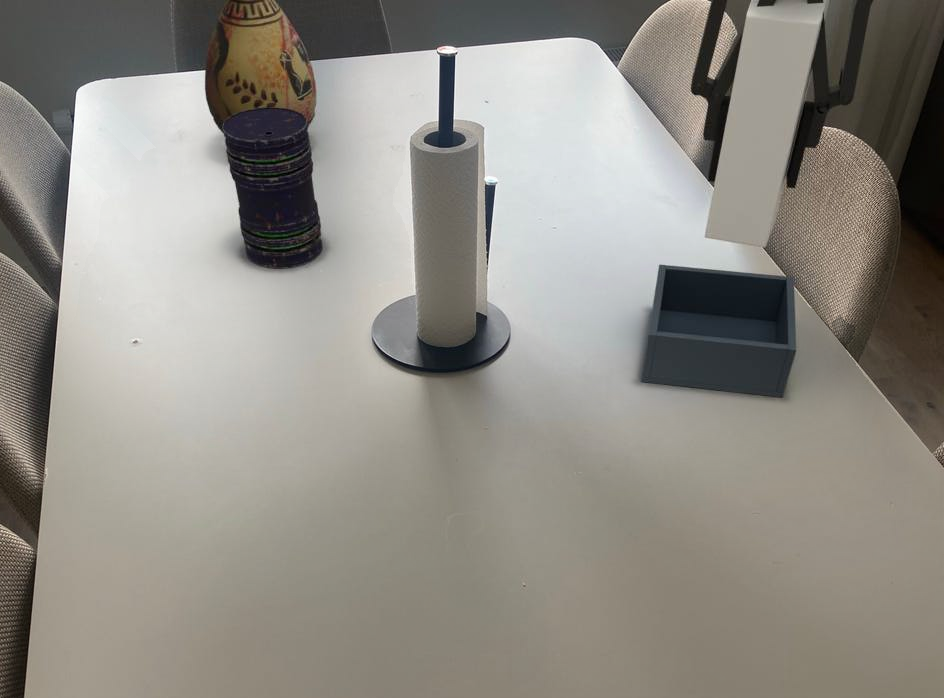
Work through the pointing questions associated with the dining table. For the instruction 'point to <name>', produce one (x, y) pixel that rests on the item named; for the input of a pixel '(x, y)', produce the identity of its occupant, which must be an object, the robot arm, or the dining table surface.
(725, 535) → the dining table surface
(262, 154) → the dark blue cylinder
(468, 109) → the dining table surface
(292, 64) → the ceramic jug
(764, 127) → the tall white rectangular prism
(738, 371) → the tote
